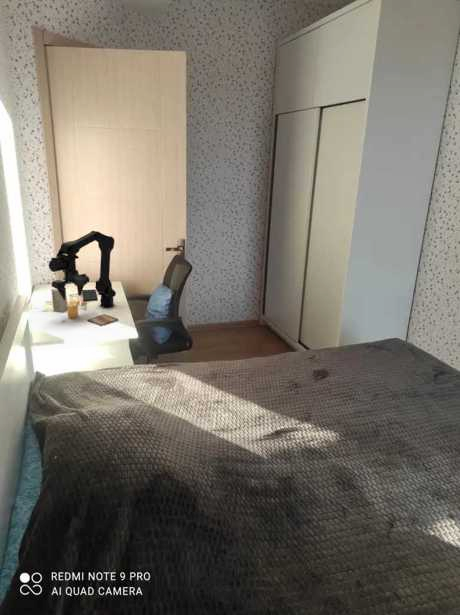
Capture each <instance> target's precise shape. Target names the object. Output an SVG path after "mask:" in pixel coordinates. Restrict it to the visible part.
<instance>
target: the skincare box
mask: <svg viewBox="0 0 460 615" xmlns="http://www.w3.org/2000/svg"><path fill="white" fill-rule="evenodd" d="M51 299H52V306H53V307H52V308H53V312H57V313H58V312H60V313H64V312H67V311H68V299H67V288H66V289H65V300H63V298H62V296H61V294H60V293H59V291H58V290H57V289H56V288H54V287H53V288H52V289H51Z"/></svg>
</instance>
